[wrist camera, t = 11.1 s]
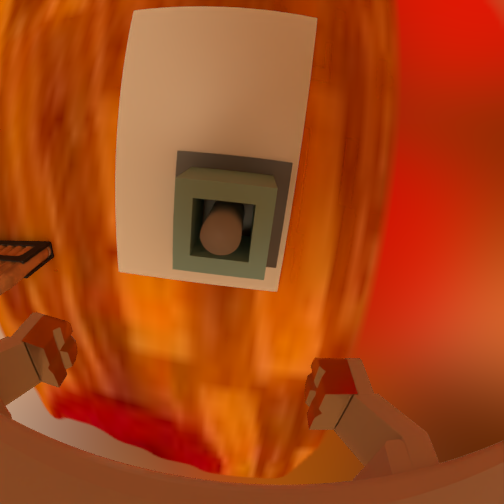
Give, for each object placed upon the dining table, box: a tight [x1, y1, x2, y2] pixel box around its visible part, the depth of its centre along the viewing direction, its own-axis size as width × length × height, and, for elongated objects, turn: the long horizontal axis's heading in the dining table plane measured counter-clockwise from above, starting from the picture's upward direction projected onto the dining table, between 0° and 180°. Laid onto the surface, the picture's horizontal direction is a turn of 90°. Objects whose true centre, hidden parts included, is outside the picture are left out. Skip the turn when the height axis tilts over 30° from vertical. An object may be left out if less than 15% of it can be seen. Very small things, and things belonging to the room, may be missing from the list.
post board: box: [115, 6, 317, 292], centre depth 21 cm, size 24×15×8 cm, turn 173°
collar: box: [173, 167, 278, 280], centre depth 22 cm, size 6×6×5 cm
